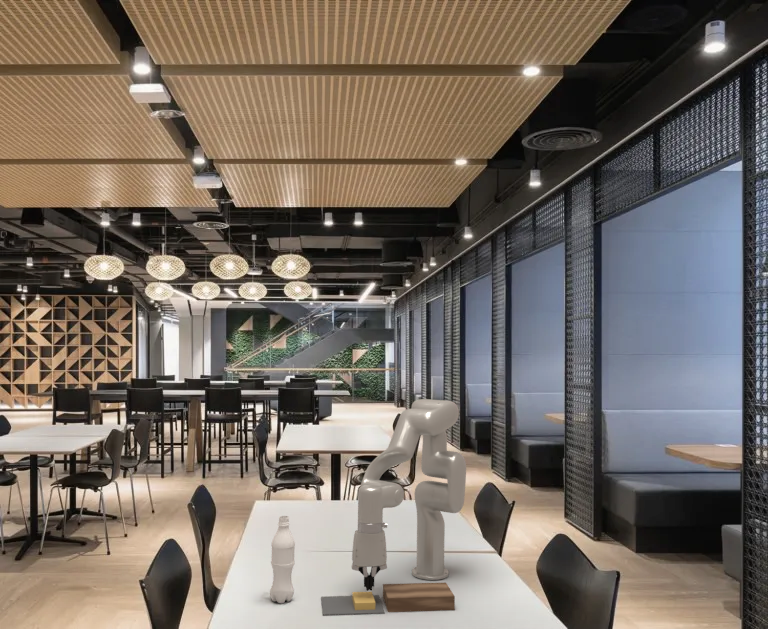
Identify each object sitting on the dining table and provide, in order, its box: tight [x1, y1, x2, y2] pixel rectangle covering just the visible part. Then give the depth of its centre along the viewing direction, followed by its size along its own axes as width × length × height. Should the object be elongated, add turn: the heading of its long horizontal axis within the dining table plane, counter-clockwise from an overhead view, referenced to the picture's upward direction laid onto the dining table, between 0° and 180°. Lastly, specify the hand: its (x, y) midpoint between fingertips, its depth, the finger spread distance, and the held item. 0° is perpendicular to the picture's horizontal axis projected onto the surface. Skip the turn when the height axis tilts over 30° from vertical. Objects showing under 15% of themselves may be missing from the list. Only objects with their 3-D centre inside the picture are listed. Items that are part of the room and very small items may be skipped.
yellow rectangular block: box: [351, 591, 375, 610], centre depth 198 cm, size 9×6×2 cm, turn 8°
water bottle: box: [269, 515, 296, 604], centre depth 202 cm, size 7×7×25 cm
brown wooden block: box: [382, 582, 456, 613], centre depth 201 cm, size 12×20×4 cm, turn 97°
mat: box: [320, 594, 386, 617], centre depth 198 cm, size 14×18×1 cm
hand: (368, 589), depth 199 cm, fingers closed
